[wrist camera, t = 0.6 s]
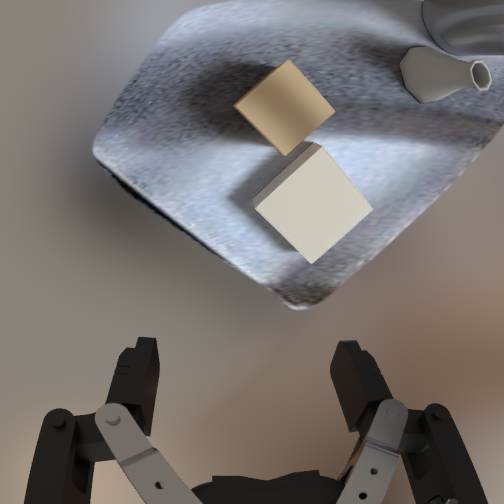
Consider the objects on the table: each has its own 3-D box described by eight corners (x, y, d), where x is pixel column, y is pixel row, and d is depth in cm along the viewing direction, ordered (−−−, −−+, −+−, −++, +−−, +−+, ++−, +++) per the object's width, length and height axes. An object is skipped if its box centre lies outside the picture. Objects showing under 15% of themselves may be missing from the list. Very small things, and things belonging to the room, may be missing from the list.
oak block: (275, 67, 28) (288, 59, 22) (315, 109, 30) (335, 111, 25) (232, 105, 29) (235, 106, 24) (273, 147, 32) (285, 156, 26)
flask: (388, 61, 28) (443, 55, 19) (427, 37, 26) (483, 29, 17) (419, 114, 31) (475, 125, 22) (454, 87, 29) (511, 93, 20)
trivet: (314, 142, 32) (322, 146, 29) (361, 200, 35) (373, 209, 32) (251, 199, 34) (254, 208, 31) (304, 252, 37) (311, 264, 34)
